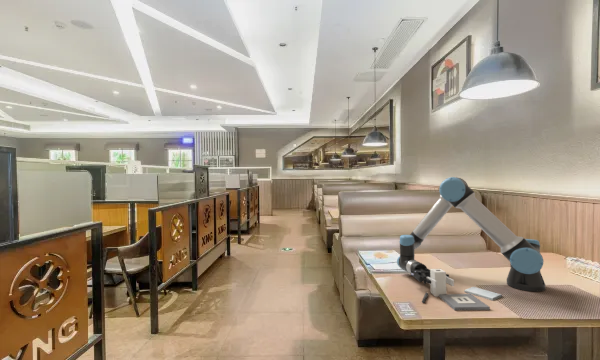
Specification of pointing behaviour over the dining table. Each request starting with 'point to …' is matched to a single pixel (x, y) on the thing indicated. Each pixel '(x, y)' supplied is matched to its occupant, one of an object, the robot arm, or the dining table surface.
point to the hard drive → (483, 293)
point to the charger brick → (438, 281)
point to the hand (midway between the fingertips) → (444, 283)
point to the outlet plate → (463, 302)
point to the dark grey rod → (425, 297)
